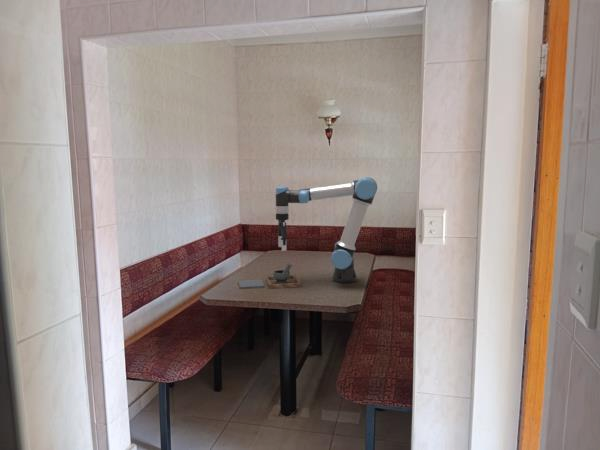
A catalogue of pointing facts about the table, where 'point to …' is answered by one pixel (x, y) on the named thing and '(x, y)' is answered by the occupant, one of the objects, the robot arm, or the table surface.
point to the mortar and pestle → (282, 275)
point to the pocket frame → (297, 284)
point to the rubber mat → (251, 284)
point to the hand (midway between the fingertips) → (282, 248)
